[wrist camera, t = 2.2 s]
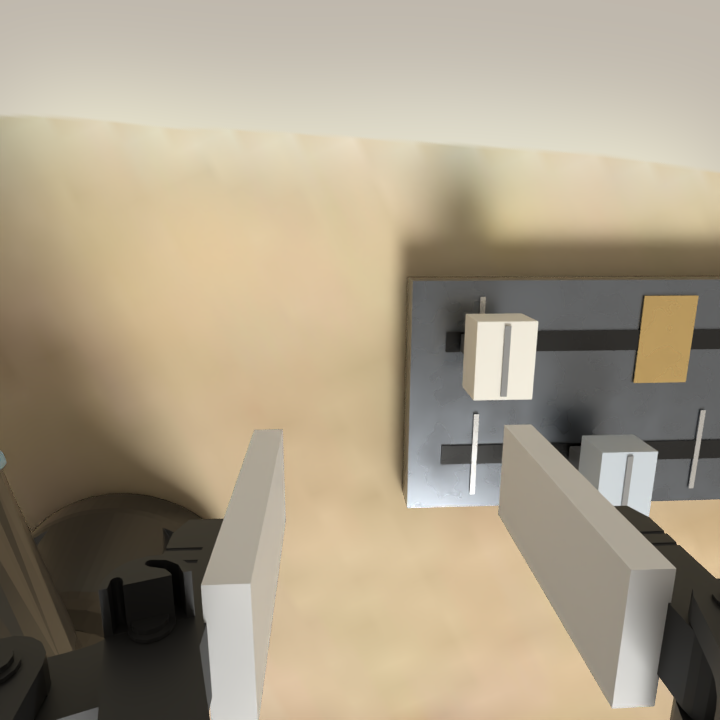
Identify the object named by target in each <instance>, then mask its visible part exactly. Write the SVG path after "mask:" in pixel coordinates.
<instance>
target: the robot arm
mask: <svg viewBox="0 0 720 720" xmlns="http://www.w3.org/2000/svg"><path fill="white" fill-rule="evenodd" d="M6 463H7V462H6V459H5V456H4V454H3V452H2V451H1V450H0V720H210V718H209V708H210V709H211V720H259V715H260V708H261V700H262V693H263V685H264V678H265V671H266V663H267V656H268V648H269V641H270V634H271V626H272V619H273V611H274V604H275V596H276V589H277V582H278V574H279V567H280V559H281V552H282V545H283V537H284V530H285V522H286V512H285V483H284V453H283V429H271V430H254V432H253V435H252V438H251V441H250V444H249V447H248V450H247V453H246V455H245V458H244V461H243V464H242V467H241V470H240V473H239V476H238V479H237V482H236V485H235V487H234V490H233V493H232V496H231V499H230V502H229V505H228V508H227V511H226V514H225V517H224V519H202V518H200V517H199V516H197V515H196V514H194V513H192V512H191V511H189V510H187V509H185V508H183V507H181V506H179V505H176V504H174V503H172V502H169V501H166V500H163V499H159V498H155V497H150V496H145V495H138V494H108V495H101V496H96V497H91V498H87V499H84V500H81V501H78V502H75V503H73V504H70V505H68V506H66V507H64V508H62V509H60V510H59V511H57V512H55V513H54V514H52V515H51V516H50V517H48V518H47V519H46V520H44V521H43V522H42V523H41V524H40V525H39V526H38V527H37V528H36V529H35V530H34V531H33V532H32V533H31V532H30V530H29V528H28V526H27V524H26V522H25V519H24V517H23V515H22V513H21V511H20V509H19V506H18V504H17V502H16V499H15V497H14V495H13V493H12V490H11V488H10V486H9V483H8V481H7V479H6V477H5V474H4V472H3V470H2V468H4V466H5V464H6ZM498 515H499V516H500V518H501V520H502V522H503V523H504V525H505V527H506V528H507V530H508V532H509V533H510V535H511V537H512V539H513V540H514V542H515V544H516V545H517V547H518V549H519V551H520V552H521V554H522V556H523V557H524V559H525V561H526V562H527V564H528V566H529V568H530V569H531V571H532V573H533V574H534V576H535V578H536V580H537V581H538V583H539V585H540V586H541V588H542V590H543V591H544V593H545V595H546V597H547V598H548V600H549V602H550V603H551V605H552V607H553V609H554V610H555V612H556V614H557V615H558V617H559V619H560V620H561V622H562V624H563V626H564V627H565V629H566V631H567V632H568V634H569V636H570V638H571V639H572V641H573V643H574V644H575V646H576V648H577V649H578V651H579V653H580V655H581V656H582V658H583V660H584V661H585V663H586V665H587V667H588V668H589V670H590V672H591V673H592V675H593V677H594V678H595V680H596V682H597V684H598V685H599V687H600V689H601V690H602V692H603V694H604V696H605V697H606V699H607V701H608V702H609V704H610V706H611V707H612V708H630V707H650V706H654V705H655V699H656V693H657V687H658V680H659V677H660V679H661V680H662V681H663V683H664V684H665V686H666V687H667V688H668V690H669V691H670V692H671V694H672V695H673V697H674V699H673V705H672V711H671V717H670V720H720V579H716V578H715V577H714V576H713V575H711V574H710V573H709V572H708V571H707V570H706V569H705V568H704V567H703V566H702V565H701V564H699V563H698V562H697V561H696V560H695V559H694V558H693V557H692V556H691V555H690V554H689V553H687V552H686V551H685V550H684V549H683V548H682V547H681V546H680V545H677V544H676V542H675V541H674V540H673V539H672V538H671V537H670V536H669V535H668V534H664V530H662V529H661V528H660V527H659V526H658V525H657V524H656V523H655V522H654V521H653V520H652V519H650V518H649V517H648V516H646V515H644V514H642V513H640V512H638V511H636V510H635V509H633V508H631V507H629V506H613V505H612V504H611V503H610V502H609V501H608V500H607V499H606V498H605V497H604V496H603V495H602V494H601V493H600V492H599V491H598V490H597V489H596V488H595V487H594V486H593V485H592V484H591V483H590V482H589V481H588V480H587V479H586V478H585V477H584V476H583V475H582V474H581V473H580V472H579V471H578V470H577V469H576V468H575V467H574V466H573V465H572V464H571V463H570V462H569V461H568V460H567V459H566V458H565V457H564V456H563V455H562V454H561V453H560V452H559V451H558V450H557V449H556V448H555V447H554V446H553V445H552V444H551V443H550V442H549V441H548V440H547V439H546V438H544V437H543V436H542V435H541V434H540V433H539V432H538V431H537V430H536V429H535V428H534V427H533V426H532V425H531V424H527V425H504V438H503V452H502V467H501V481H500V496H499V510H498Z"/></svg>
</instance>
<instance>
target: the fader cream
mask: <svg viewBox="0 0 720 720" xmlns="http://www.w3.org/2000/svg"><path fill="white" fill-rule="evenodd" d="M537 333H538V321H537V320H535V319H532V318H530V317H528V316H526V315H524V314H522V313H508V314H466V319H465V334H461V348H460V351H461V352H462V353H463V354H464V360H463V381H462V387H463V388H464V389H465V391H466V392H467V393H468V394H469V395H470V397H471V398H472V399H473V400H528V399H532V394H533V382H534V370H535V357H536V345H537Z"/></svg>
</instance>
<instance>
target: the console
mask: <svg viewBox="0 0 720 720" xmlns="http://www.w3.org/2000/svg"><path fill="white" fill-rule="evenodd" d="M508 313H522V314H524V315H526V316H528V317H530V318H532V319H535V320H537V321H538V333H537V345H536V357H535V370H534V382H533V394H532V399H528V400H473V399H472V398H471V397H470V395H469V394H468V393H467V392H466V391H465V389H464V388H463V387H462V381H463V360H464V354H463V353H462V352H461V351H460V348H461V334H465V319H466V314H508ZM527 424H531V425H532V426H533V427H534V428H535V429H536V430H537V431H538V432H539V433H540V434H541V435H542V436H543V437H544V438H546V439H547V440H548V441H549V442H550V443H551V444H552V445H553V446H554V447H555V448H556V449H557V450H558V451H559V452H560V453H561V454H562V455H563V456H564V457H565V458H566V459H567V460H568V459H569V449H570V446H581V442H582V436H587V435H635V436H637V437H638V438H639V439H641V440H642V441H644V442H645V443H647V444H648V445H649V446H651V447H652V448H654V449H655V450H657V451H658V456H657V463H656V470H655V477H654V484H653V491H652V498H651V501H674V500H710V499H720V276H608V277H408V285H407V329H406V373H405V417H404V461H403V495H404V499H405V502H406V506H407V508H425V507H460V506H496V505H499V496H500V481H501V467H502V452H503V438H504V425H527Z"/></svg>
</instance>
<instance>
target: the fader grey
mask: <svg viewBox="0 0 720 720" xmlns="http://www.w3.org/2000/svg"><path fill="white" fill-rule="evenodd" d="M657 456H658V451H657V450H655V449H654V448H652V447H651V446H649V445H648V444H647V443H645V442H644V441H642V440H641V439H639V438H638V437H637V436H635V435H587V436H582V442H581V446H570V449H569V459H568V461H569V462H570V463H571V464H572V465H573V466H574V467H575V468H576V469H577V470H578V471H579V472H580V473H581V474H582V475H583V476H584V477H585V478H586V479H587V480H588V481H589V482H590V483H591V484H592V485H593V486H594V487H595V488H596V489H597V490H598V491H599V492H600V493H601V494H602V495H603V496H604V497H605V498H606V499H607V500H608V501H609V502H610V503H611V504H612V505H613V506H629V507H631V508H633V509H635V510H636V511H638V512H640V513H642V514H644V515H646V516H648V517H649V512H650V505H651V498H652V491H653V484H654V477H655V470H656V463H657Z"/></svg>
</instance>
